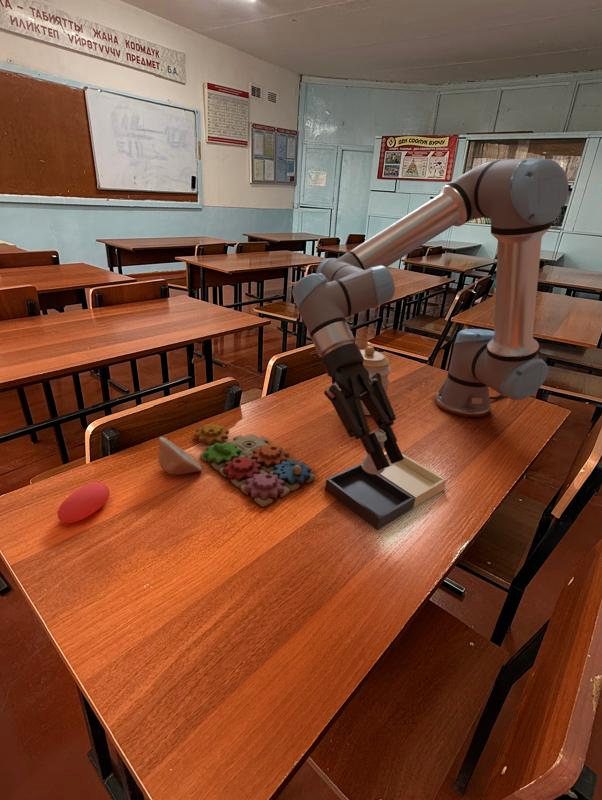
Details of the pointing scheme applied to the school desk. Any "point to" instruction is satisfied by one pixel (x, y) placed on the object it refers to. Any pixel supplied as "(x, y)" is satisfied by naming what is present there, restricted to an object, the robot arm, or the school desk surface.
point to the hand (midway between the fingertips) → (390, 464)
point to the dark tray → (369, 495)
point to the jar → (376, 368)
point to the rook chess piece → (367, 460)
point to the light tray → (413, 479)
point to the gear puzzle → (253, 464)
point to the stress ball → (83, 502)
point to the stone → (175, 459)
